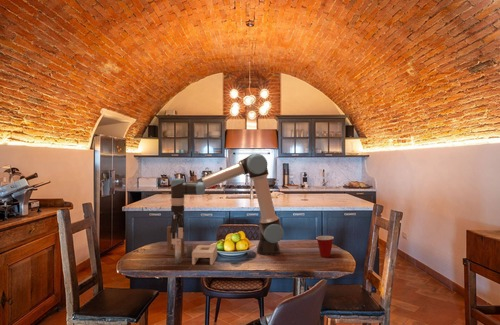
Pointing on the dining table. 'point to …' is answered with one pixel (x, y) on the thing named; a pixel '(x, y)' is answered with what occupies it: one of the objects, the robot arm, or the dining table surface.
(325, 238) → the plastic cup
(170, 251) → the brown wooden bracket
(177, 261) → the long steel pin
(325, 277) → the dining table surface
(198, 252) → the bridge
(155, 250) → the dining table surface
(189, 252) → the short charcoal pin
